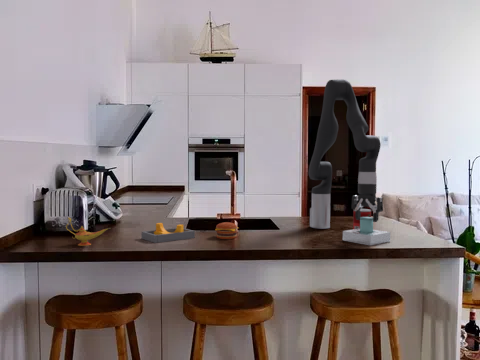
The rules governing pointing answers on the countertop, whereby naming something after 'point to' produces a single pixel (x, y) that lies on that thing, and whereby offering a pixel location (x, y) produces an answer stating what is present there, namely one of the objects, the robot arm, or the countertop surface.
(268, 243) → the countertop surface
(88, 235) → the magic lamp
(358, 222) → the canned food
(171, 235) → the tray
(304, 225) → the countertop surface
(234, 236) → the hamburger
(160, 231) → the pipe clamp
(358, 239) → the housing
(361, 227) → the teal cylinder
